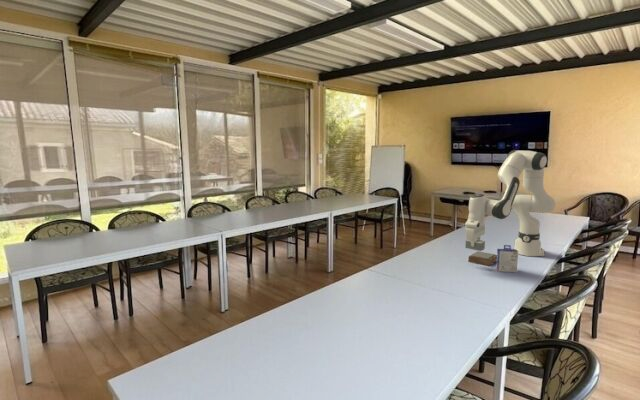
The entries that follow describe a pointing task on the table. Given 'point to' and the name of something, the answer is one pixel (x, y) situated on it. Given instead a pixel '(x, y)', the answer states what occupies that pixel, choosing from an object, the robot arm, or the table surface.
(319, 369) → the table surface
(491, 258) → the wooden tray
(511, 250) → the ink cartridge box
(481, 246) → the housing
